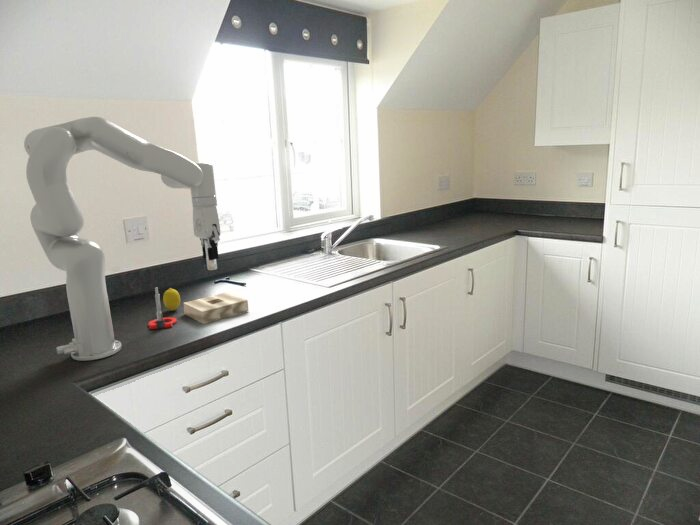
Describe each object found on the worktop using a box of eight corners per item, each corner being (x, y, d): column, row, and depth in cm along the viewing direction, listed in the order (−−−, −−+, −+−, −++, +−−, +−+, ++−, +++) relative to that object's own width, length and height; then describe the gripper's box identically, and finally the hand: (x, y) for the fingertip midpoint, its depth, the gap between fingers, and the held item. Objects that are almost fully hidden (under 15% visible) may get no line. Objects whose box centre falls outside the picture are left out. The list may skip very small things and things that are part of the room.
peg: (210, 270, 167) (206, 237, 164) (206, 269, 169) (202, 236, 167) (218, 268, 169) (215, 235, 166) (214, 267, 171) (210, 234, 169)
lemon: (175, 307, 181) (173, 285, 179) (185, 309, 177) (182, 287, 175) (161, 311, 177) (158, 289, 175) (170, 314, 173) (167, 291, 171)
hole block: (203, 323, 162) (202, 311, 161) (184, 314, 172) (183, 302, 171) (248, 311, 172) (247, 299, 171) (228, 303, 182) (227, 292, 182)
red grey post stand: (151, 322, 167) (146, 330, 158) (146, 283, 165) (141, 289, 156) (178, 319, 169) (175, 327, 160) (173, 280, 167) (170, 286, 158)
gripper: (182, 201, 168) (189, 257, 172) (205, 204, 156) (212, 264, 160) (203, 199, 172) (210, 253, 177) (227, 201, 160) (233, 259, 165)
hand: (211, 258), depth 168 cm, fingers closed on peg, 3 cm apart
